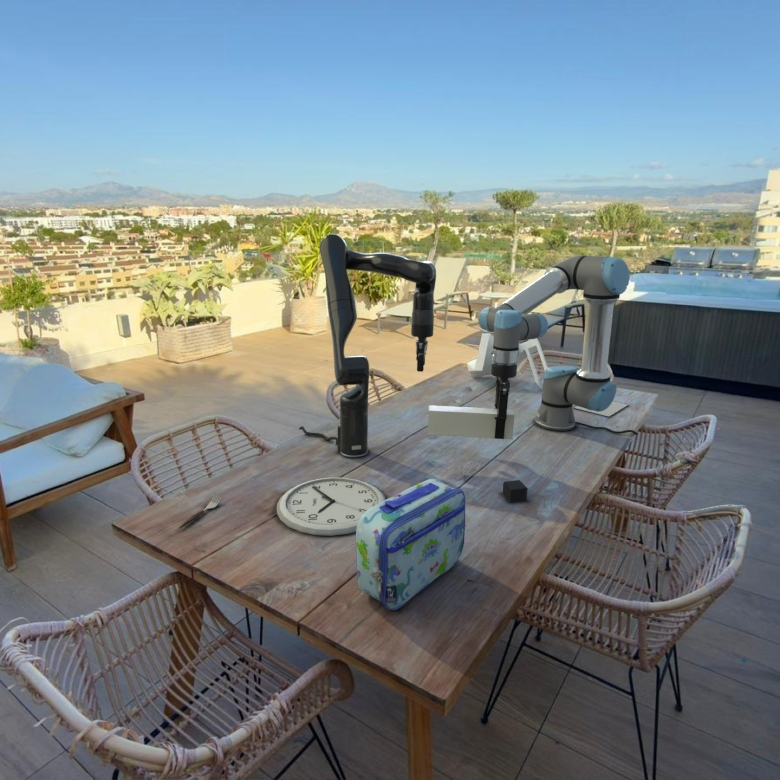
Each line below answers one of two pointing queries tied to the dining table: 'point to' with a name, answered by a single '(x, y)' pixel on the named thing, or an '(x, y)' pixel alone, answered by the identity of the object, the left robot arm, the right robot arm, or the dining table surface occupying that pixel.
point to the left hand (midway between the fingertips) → (420, 368)
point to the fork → (209, 506)
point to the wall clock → (327, 505)
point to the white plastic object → (484, 357)
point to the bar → (467, 422)
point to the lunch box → (409, 541)
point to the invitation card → (609, 411)
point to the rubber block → (514, 491)
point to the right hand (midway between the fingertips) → (498, 434)
